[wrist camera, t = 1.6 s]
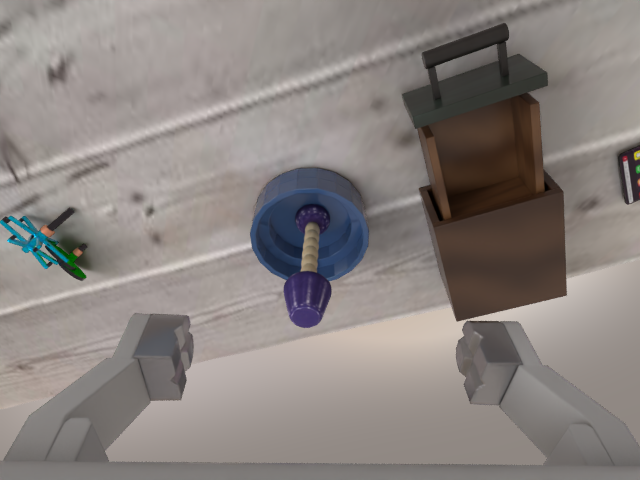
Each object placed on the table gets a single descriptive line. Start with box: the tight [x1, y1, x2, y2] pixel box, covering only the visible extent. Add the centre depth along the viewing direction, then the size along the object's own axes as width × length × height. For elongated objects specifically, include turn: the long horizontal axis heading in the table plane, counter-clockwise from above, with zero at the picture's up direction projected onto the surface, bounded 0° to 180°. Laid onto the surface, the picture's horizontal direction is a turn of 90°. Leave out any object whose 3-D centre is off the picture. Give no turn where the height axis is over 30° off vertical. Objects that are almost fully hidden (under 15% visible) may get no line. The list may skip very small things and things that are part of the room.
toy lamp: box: [284, 204, 331, 328], centre depth 46 cm, size 5×5×17 cm
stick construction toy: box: [0, 208, 87, 281], centre depth 53 cm, size 12×7×8 cm
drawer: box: [402, 23, 548, 221], centre depth 43 cm, size 18×11×6 cm, turn 20°
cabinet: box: [419, 169, 567, 321], centre depth 51 cm, size 15×13×8 cm
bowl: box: [250, 168, 369, 281], centre depth 51 cm, size 13×13×5 cm
